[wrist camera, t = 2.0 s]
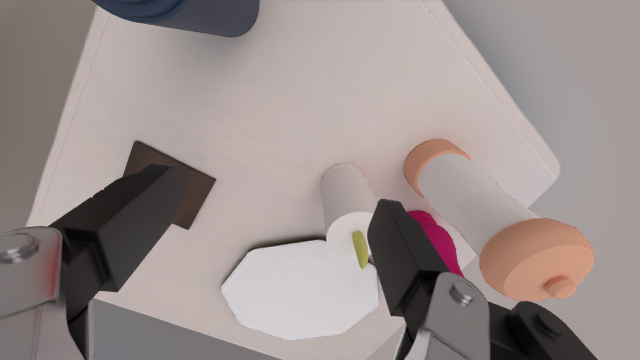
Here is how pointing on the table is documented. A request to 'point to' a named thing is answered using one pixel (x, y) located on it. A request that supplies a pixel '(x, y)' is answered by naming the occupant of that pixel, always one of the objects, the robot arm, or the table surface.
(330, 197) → the candle
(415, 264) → the robot arm
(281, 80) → the table surface
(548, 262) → the pepper shaker
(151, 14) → the bottle
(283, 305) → the plate
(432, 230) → the pepper mill
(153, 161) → the coaster
